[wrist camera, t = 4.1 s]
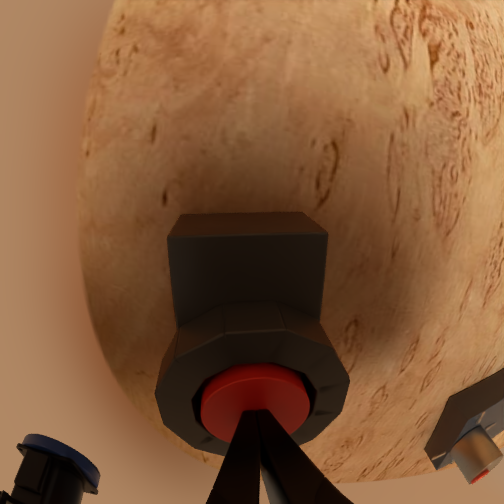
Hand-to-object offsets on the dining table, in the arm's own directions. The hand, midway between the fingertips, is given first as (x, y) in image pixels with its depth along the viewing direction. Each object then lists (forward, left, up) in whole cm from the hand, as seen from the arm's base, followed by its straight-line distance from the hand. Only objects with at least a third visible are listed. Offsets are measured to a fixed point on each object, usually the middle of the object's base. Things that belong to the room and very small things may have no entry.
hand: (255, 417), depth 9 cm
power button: (0, 0, -2) cm, 2 cm away
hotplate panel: (-12, -25, -5) cm, 28 cm away
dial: (-13, -18, -2) cm, 23 cm away
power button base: (+2, 0, -5) cm, 6 cm away
